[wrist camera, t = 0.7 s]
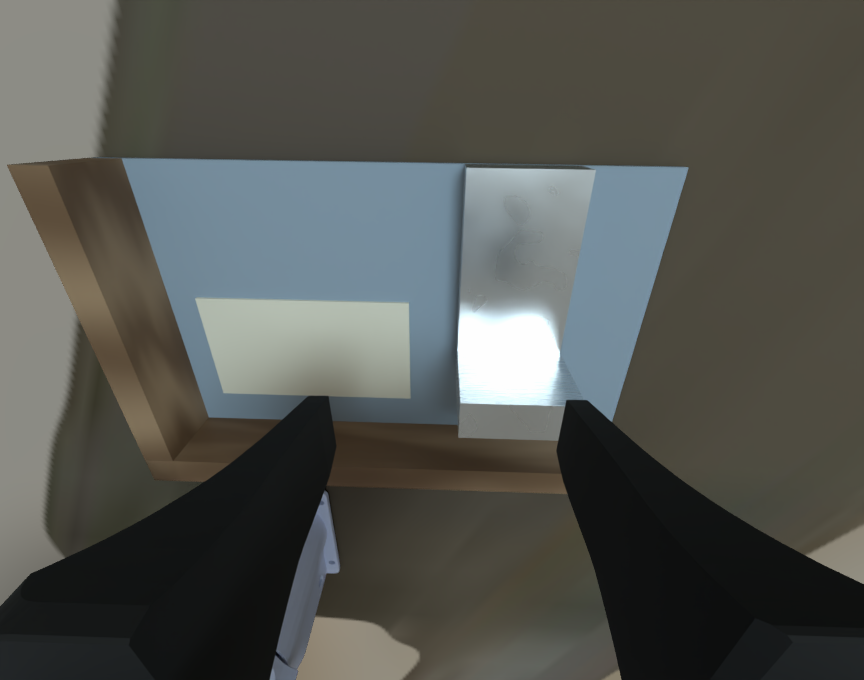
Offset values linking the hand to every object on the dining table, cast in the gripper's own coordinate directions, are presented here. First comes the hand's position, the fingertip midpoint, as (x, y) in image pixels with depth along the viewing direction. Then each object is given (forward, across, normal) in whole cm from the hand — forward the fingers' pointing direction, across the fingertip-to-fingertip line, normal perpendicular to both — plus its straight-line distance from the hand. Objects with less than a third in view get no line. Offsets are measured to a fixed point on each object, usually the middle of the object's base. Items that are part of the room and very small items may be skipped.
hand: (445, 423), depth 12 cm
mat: (+10, +3, +1) cm, 10 cm away
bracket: (+9, -3, -2) cm, 10 cm away
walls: (+10, +3, +1) cm, 10 cm away
